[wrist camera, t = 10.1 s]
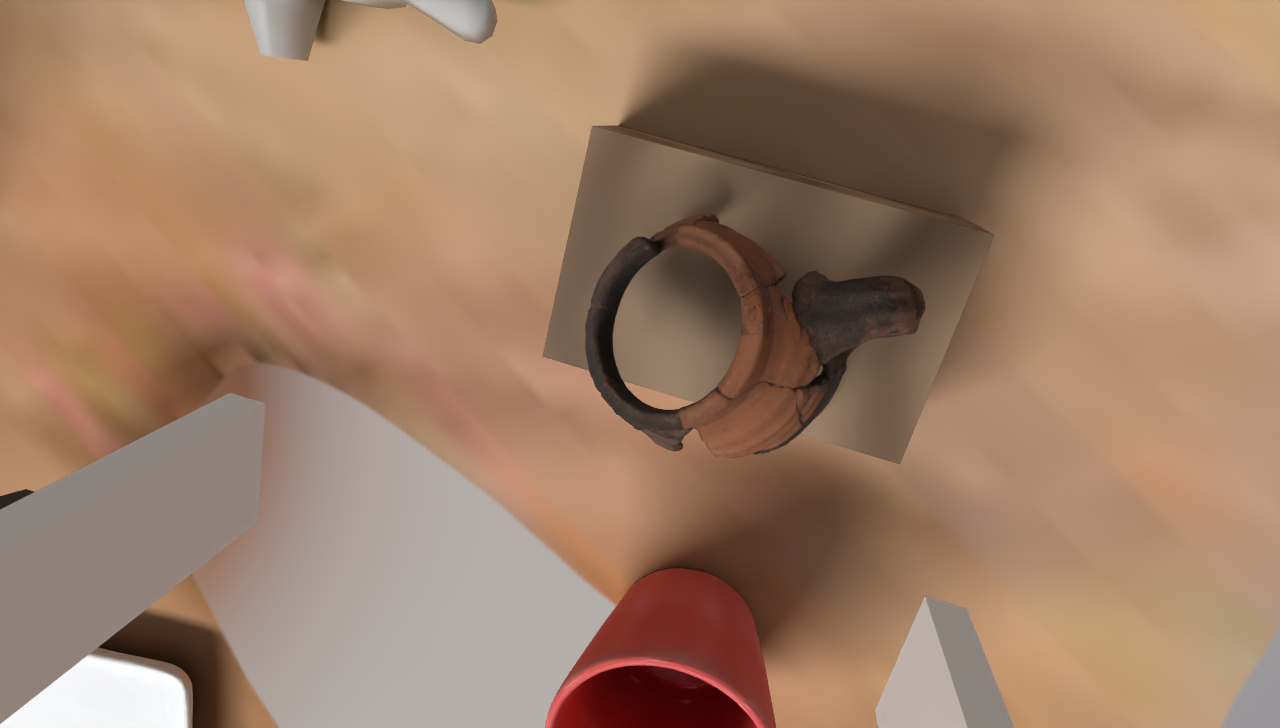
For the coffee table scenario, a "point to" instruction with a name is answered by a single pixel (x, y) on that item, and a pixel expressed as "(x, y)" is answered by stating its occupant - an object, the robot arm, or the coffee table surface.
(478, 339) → the coffee table surface
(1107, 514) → the coffee table surface
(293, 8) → the bunny figurine
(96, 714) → the salad plate
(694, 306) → the walnut block
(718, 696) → the flower pot
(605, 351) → the pottery mug
